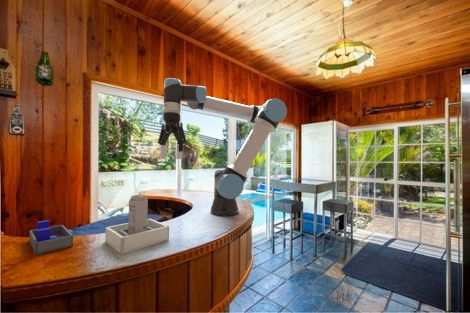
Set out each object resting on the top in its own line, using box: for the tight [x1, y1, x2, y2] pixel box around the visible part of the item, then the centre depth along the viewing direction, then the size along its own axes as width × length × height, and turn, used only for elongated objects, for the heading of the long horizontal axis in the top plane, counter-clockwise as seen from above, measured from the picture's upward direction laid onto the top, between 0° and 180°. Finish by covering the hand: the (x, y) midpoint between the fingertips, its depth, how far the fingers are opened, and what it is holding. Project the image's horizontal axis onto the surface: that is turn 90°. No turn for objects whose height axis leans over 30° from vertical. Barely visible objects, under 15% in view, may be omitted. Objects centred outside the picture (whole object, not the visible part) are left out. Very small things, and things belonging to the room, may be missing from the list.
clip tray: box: [28, 224, 74, 256], centre depth 73 cm, size 9×16×4 cm, turn 48°
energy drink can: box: [128, 194, 149, 235], centre depth 77 cm, size 6×6×15 cm
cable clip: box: [36, 220, 56, 242], centre depth 72 cm, size 12×4×6 cm, turn 42°
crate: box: [104, 218, 170, 255], centre depth 77 cm, size 16×14×5 cm
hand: (170, 158), depth 102 cm, fingers open, 13 cm apart
